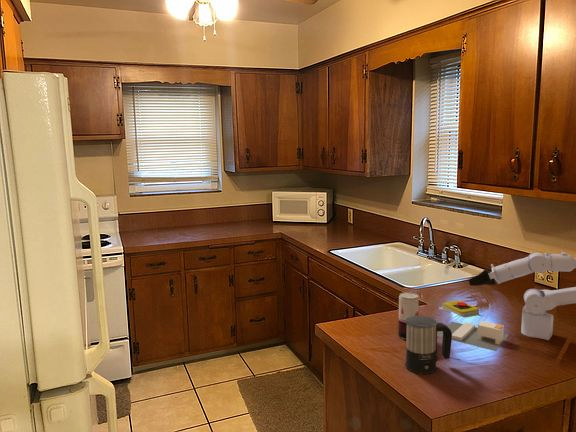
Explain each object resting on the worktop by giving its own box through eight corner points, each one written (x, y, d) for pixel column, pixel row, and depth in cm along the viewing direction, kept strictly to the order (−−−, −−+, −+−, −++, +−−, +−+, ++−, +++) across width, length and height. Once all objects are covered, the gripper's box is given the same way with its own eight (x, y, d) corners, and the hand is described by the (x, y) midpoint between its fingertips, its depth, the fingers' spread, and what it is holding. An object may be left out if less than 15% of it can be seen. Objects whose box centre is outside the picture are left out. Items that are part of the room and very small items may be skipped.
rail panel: (509, 337, 161) (509, 331, 161) (495, 353, 149) (495, 347, 149) (451, 324, 174) (451, 318, 174) (434, 338, 162) (434, 332, 161)
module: (503, 339, 157) (503, 325, 156) (499, 344, 154) (500, 329, 153) (481, 334, 162) (482, 320, 161) (477, 339, 158) (478, 324, 157)
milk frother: (417, 377, 136) (418, 328, 133) (385, 355, 150) (386, 311, 148) (455, 367, 141) (457, 320, 139) (421, 347, 155) (422, 304, 153)
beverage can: (421, 338, 162) (422, 296, 160) (405, 341, 160) (406, 299, 157) (410, 331, 168) (411, 291, 166) (394, 334, 166) (395, 293, 163)
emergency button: (464, 310, 177) (437, 298, 191) (463, 321, 177) (437, 309, 191) (483, 306, 180) (456, 295, 194) (482, 317, 181) (455, 305, 195)
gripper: (507, 260, 169) (469, 272, 175) (503, 258, 157) (463, 271, 162) (515, 279, 167) (477, 290, 173) (512, 279, 155) (471, 291, 160)
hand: (471, 282), depth 167 cm, fingers open, 7 cm apart
